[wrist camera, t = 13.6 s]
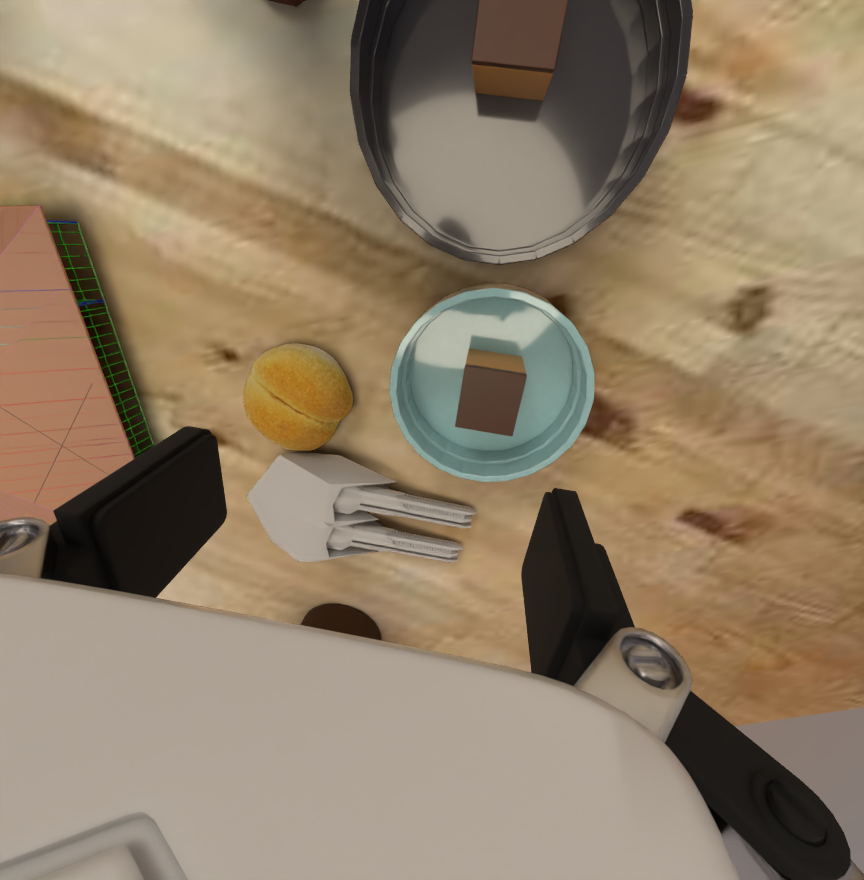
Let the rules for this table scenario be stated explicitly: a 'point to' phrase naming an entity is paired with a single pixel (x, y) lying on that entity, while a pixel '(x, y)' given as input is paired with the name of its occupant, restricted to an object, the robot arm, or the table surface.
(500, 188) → the charcoal bowl
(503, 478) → the blue bowl
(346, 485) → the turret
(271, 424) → the bread roll
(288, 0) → the ice cream bowl
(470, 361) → the snack cake
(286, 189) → the table surface
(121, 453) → the house
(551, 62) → the snack cake
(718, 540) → the table surface
